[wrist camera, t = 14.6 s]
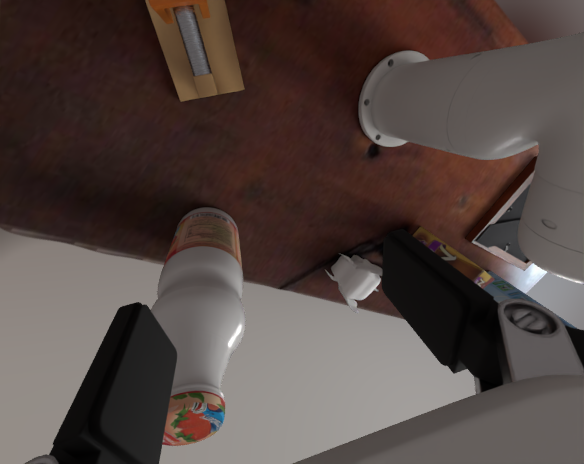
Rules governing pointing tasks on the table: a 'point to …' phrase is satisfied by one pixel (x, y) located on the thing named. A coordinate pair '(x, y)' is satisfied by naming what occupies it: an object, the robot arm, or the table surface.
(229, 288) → the fruit juice
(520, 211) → the picture frame
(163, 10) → the clip
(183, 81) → the rail stand
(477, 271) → the candy box
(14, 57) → the table surface
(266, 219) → the table surface
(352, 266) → the elephant figurine
